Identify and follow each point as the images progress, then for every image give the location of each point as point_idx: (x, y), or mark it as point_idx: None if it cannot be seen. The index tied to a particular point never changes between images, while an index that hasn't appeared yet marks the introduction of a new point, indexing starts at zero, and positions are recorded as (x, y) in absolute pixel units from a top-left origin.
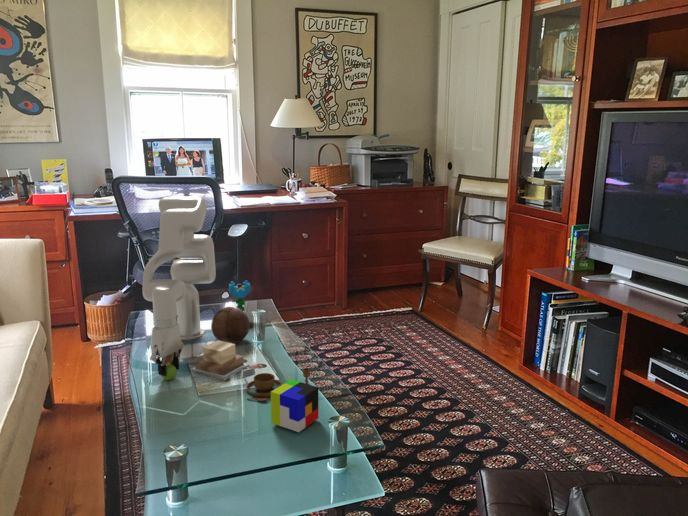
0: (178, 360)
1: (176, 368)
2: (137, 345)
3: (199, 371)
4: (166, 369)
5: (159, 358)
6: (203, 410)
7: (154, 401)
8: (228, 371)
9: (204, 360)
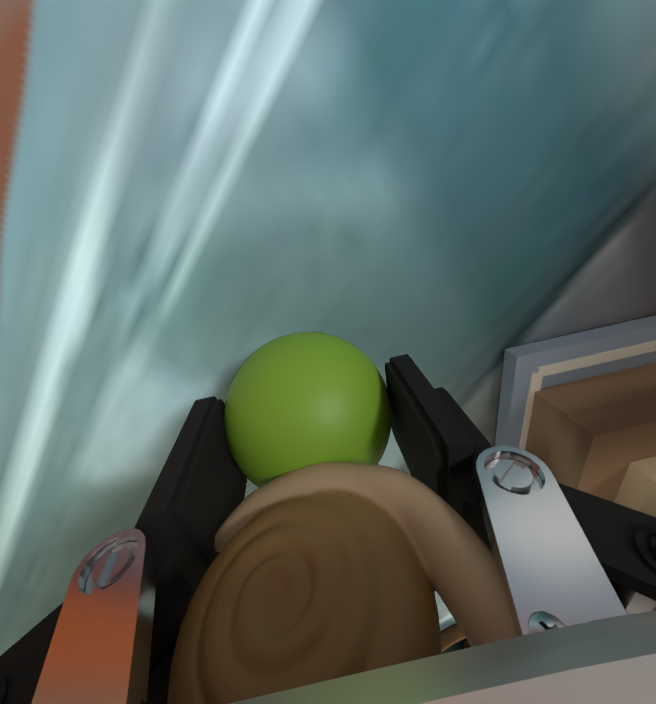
0: None
1: (393, 427)
2: None
3: (508, 435)
4: (259, 487)
5: (124, 664)
6: None
7: (73, 547)
8: None
9: (629, 470)
